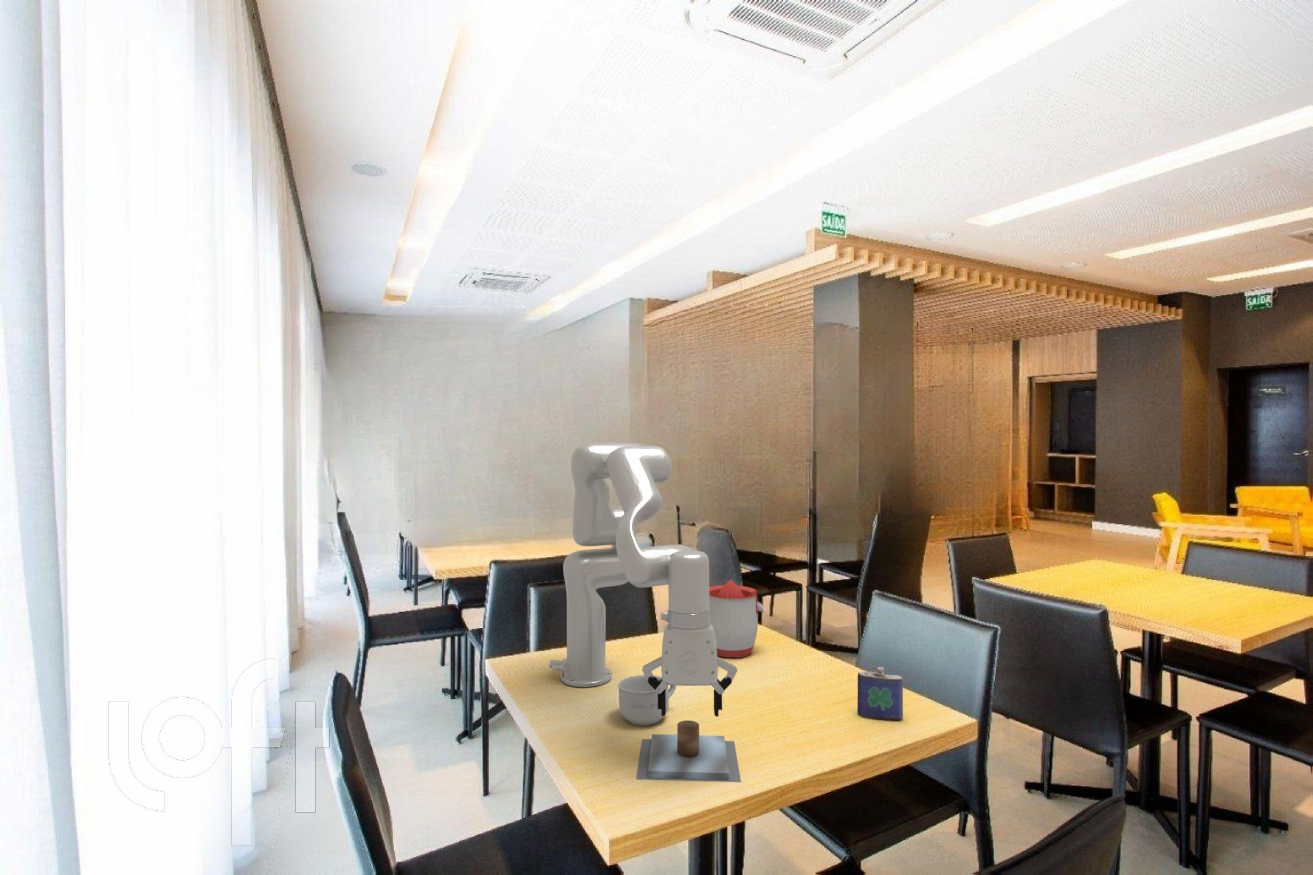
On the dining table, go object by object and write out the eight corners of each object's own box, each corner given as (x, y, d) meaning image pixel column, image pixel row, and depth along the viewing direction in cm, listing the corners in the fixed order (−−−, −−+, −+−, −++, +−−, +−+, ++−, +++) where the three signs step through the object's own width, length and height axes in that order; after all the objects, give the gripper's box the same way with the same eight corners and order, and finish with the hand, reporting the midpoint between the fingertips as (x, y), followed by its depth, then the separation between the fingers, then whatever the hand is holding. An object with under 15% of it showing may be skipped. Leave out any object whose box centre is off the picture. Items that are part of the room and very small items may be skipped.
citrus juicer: (766, 663, 170) (766, 587, 171) (700, 659, 173) (701, 585, 173) (764, 644, 186) (764, 575, 186) (703, 641, 188) (704, 573, 188)
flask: (902, 717, 137) (902, 666, 137) (903, 722, 134) (903, 671, 134) (857, 712, 140) (857, 662, 140) (857, 717, 137) (857, 667, 137)
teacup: (631, 735, 128) (631, 695, 128) (609, 714, 138) (609, 677, 138) (691, 721, 135) (691, 683, 135) (666, 702, 144) (666, 667, 144)
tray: (636, 781, 111) (636, 778, 111) (641, 740, 126) (641, 738, 126) (740, 784, 110) (741, 781, 110) (734, 742, 125) (734, 740, 125)
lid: (647, 777, 111) (648, 741, 111) (652, 740, 125) (652, 708, 125) (729, 779, 111) (729, 743, 111) (724, 741, 125) (724, 709, 125)
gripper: (640, 624, 115) (641, 721, 114) (738, 624, 114) (739, 722, 113) (643, 613, 122) (643, 704, 122) (734, 614, 121) (735, 705, 121)
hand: (689, 713), depth 118 cm, fingers open, 9 cm apart
